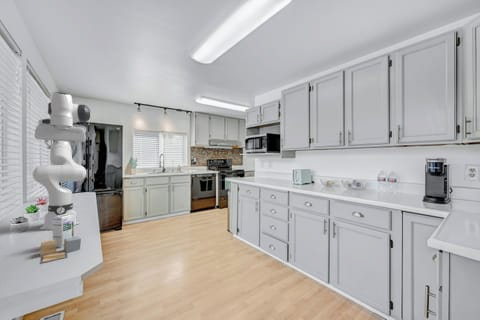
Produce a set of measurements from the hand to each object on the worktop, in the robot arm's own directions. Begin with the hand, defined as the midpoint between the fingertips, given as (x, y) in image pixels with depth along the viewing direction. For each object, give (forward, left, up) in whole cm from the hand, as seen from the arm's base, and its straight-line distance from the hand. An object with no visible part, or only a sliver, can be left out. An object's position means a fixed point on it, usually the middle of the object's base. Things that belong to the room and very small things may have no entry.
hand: (61, 149), depth 109 cm
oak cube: (+17, -4, -48) cm, 51 cm away
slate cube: (+19, +4, -47) cm, 51 cm away
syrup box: (+9, +1, -48) cm, 49 cm away
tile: (+24, -2, -47) cm, 53 cm away
